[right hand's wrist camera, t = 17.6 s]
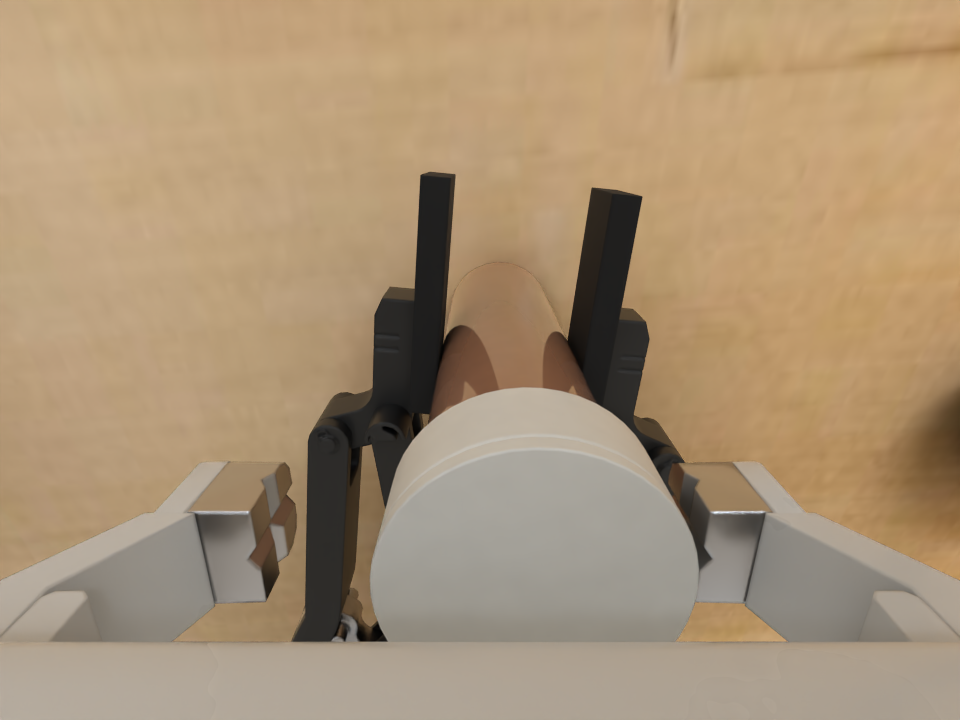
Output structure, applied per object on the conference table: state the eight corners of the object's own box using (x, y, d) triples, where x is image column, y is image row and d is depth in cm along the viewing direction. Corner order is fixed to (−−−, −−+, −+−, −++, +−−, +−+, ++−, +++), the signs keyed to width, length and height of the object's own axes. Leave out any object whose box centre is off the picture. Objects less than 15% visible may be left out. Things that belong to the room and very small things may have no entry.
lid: (698, 541, 10) (751, 634, 8) (480, 643, 11) (480, 748, 9) (577, 332, 9) (605, 384, 7) (337, 469, 10) (301, 549, 8)
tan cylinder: (513, 370, 24) (562, 691, 10) (433, 324, 23) (357, 597, 9) (565, 294, 23) (712, 530, 8) (483, 243, 22) (489, 405, 8)
